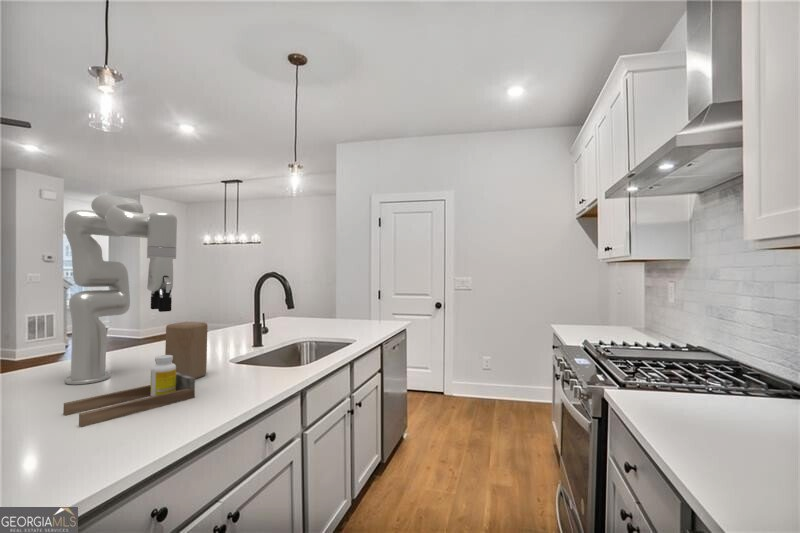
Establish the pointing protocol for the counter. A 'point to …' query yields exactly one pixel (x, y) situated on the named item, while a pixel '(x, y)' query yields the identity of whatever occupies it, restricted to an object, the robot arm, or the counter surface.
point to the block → (188, 347)
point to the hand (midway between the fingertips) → (160, 310)
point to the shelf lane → (183, 392)
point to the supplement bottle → (163, 375)
